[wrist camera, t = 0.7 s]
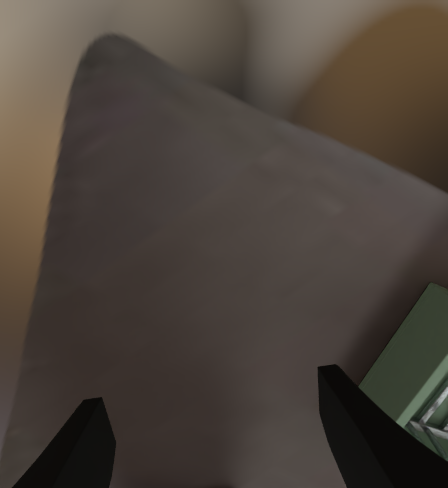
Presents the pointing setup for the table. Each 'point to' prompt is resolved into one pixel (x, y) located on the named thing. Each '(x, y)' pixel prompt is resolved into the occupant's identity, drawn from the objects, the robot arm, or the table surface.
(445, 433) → the dish rack
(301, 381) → the table surface
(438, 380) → the green open tray
